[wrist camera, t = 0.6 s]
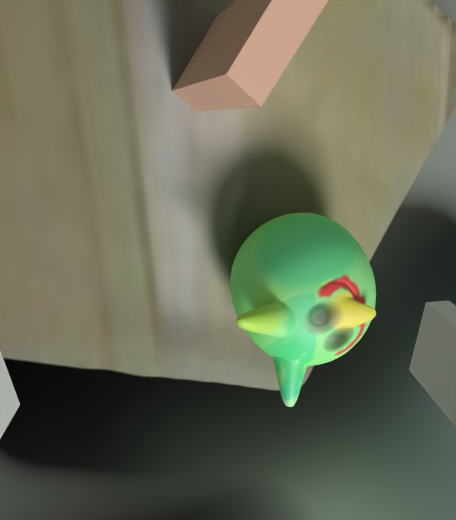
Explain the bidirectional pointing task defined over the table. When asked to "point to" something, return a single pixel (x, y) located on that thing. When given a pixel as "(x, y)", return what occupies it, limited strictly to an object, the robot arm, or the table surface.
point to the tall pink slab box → (246, 53)
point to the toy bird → (302, 293)
